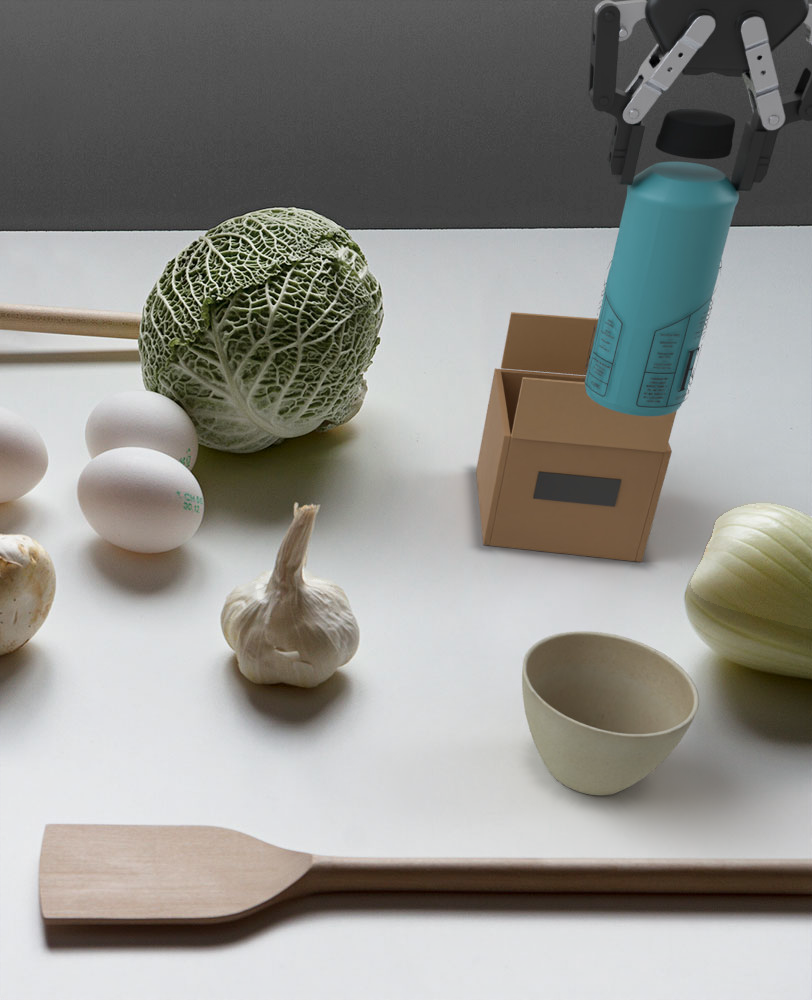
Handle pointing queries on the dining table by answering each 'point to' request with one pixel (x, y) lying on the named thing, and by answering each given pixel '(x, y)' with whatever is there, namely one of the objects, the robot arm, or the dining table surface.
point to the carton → (565, 451)
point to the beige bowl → (604, 708)
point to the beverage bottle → (664, 270)
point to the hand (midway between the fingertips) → (681, 183)
